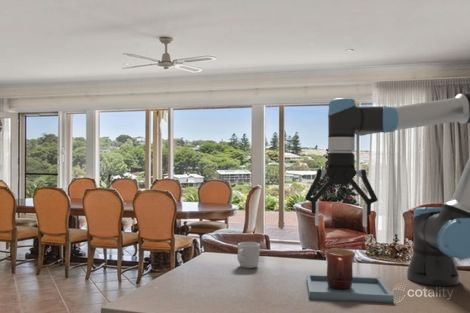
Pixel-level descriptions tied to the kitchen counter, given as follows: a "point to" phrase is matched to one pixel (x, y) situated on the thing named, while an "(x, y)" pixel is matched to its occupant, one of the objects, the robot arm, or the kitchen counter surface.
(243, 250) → the cup
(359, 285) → the tray
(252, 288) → the kitchen counter surface
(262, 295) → the kitchen counter surface
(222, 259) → the kitchen counter surface
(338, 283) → the mug
